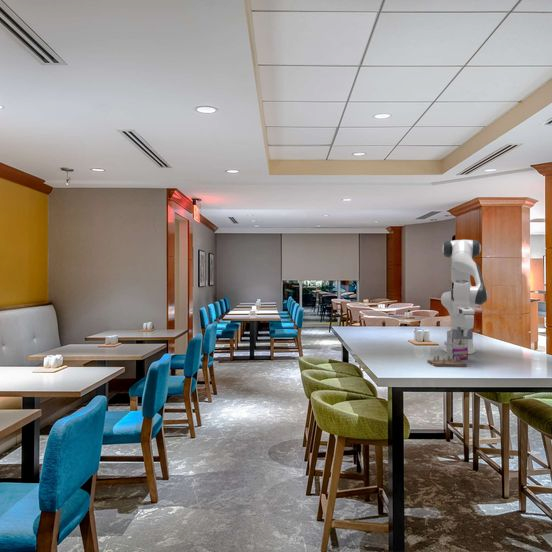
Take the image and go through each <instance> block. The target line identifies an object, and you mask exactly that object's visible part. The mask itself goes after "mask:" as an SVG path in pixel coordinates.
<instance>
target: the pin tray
mask: <svg viewBox="0 0 552 552" xmlns="http://www.w3.org/2000/svg"><path fill="white" fill-rule="evenodd" d="M426 361H427V363H428V364H430V365H432V366H434V367H436V368H439V367H440V368H467V363H466V362H463V361H460V360H459V356H457V360H456V357H454V360H450V355H448V359H446V357H442V359H440V354H437V355H433V359H426Z"/></svg>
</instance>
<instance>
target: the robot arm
mask: <svg viewBox="0 0 552 552" xmlns="http://www.w3.org/2000/svg"><path fill="white" fill-rule="evenodd" d="M441 250H442V251H441V252H442V254H443V256H444V257H446V258H451V267H450V268H451V272H450V274H451V275H450V277H451V278H450V280H451V282H452V284H453V288H452V289H451V290H450V291H446V292H445V291H444V292H443V293H442V294H441V297H440V302H441V305H442V306H443V307H444V308H445V310H447V311H448V314H449V317H450V330H449V331H452V329H463V330H464V331H463V336H464V337H466V336H467V332H468V329H471V330H473V329H474V327H475V316H474V315H475V310H474V307H477V306H478V305H483V304H485V303H486V302H487V301H488V291H487V289H486V286H485V282H484V279H483V275H482V271H481V268H480V266H479V264H478V263H477V262H475V260H474V258H477V257H478V256H479V255H480V253H481V250H482V246H481V243H480V241H479V240H477V239H476V240H475V239H454V240H449V239H448V240H446V241H445V242H444V243H443V245H442V247H441ZM471 276H472V277H473V278H474V282H475V286H473V285H472V283H471ZM473 339H474V338H473ZM473 339H467V346H468V355H470V354H474V353H475V354H476V352H477V351H476V350H474V341H473ZM443 343H444V346H445V347H442V348H441V349H442V351H443V352H444V353H446V354H447V340H446V341H444V342H443Z"/></svg>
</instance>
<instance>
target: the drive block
mask: <svg viewBox="0 0 552 552" xmlns="http://www.w3.org/2000/svg"><path fill="white" fill-rule="evenodd" d="M463 331H464V330H463V329H452V338H453V339H474V337H473V333H474V331H473V329H468V332H467V336H466V337H464V336H463Z"/></svg>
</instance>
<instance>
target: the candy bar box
mask: <svg viewBox="0 0 552 552" xmlns="http://www.w3.org/2000/svg"><path fill="white" fill-rule="evenodd" d="M446 341H447V353H446V355H447V359H446V360H448V355H450V360H454V357H456V360H457V356H459V361H460V360H468V359H469V356H468V355H469V354H468V346H467V339H453V338H452V331H450V330H447V331H446Z"/></svg>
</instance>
